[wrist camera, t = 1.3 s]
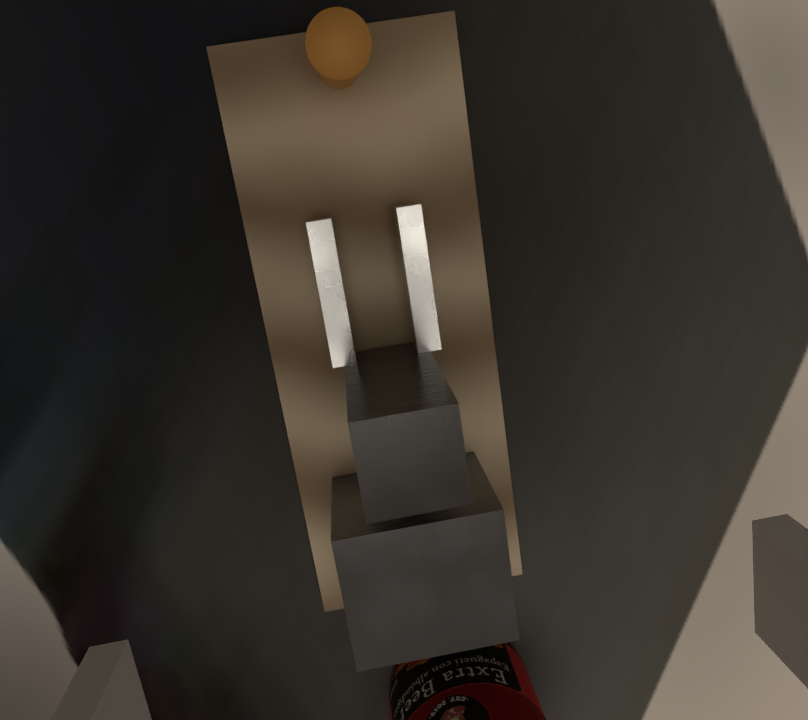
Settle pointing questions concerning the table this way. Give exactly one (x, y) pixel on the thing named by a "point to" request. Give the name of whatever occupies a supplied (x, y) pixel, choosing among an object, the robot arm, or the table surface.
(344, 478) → the block
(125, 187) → the table surface
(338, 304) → the two-pronged fork block
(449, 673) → the canned food
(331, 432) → the rail board
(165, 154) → the table surface
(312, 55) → the keeper post
